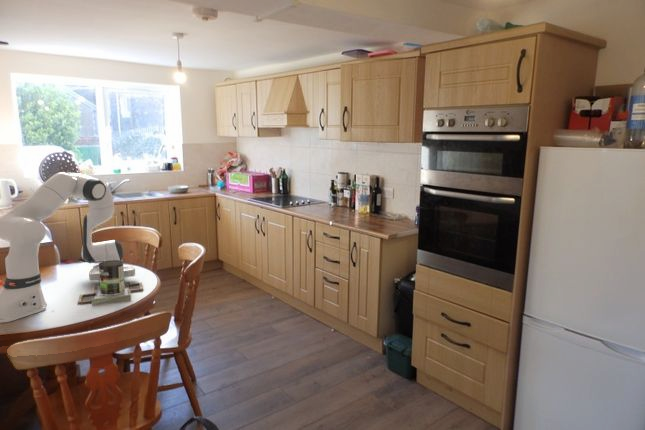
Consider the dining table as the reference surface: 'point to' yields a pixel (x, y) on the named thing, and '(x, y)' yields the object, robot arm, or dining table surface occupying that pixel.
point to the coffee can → (111, 277)
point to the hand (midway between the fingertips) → (112, 278)
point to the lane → (90, 297)
